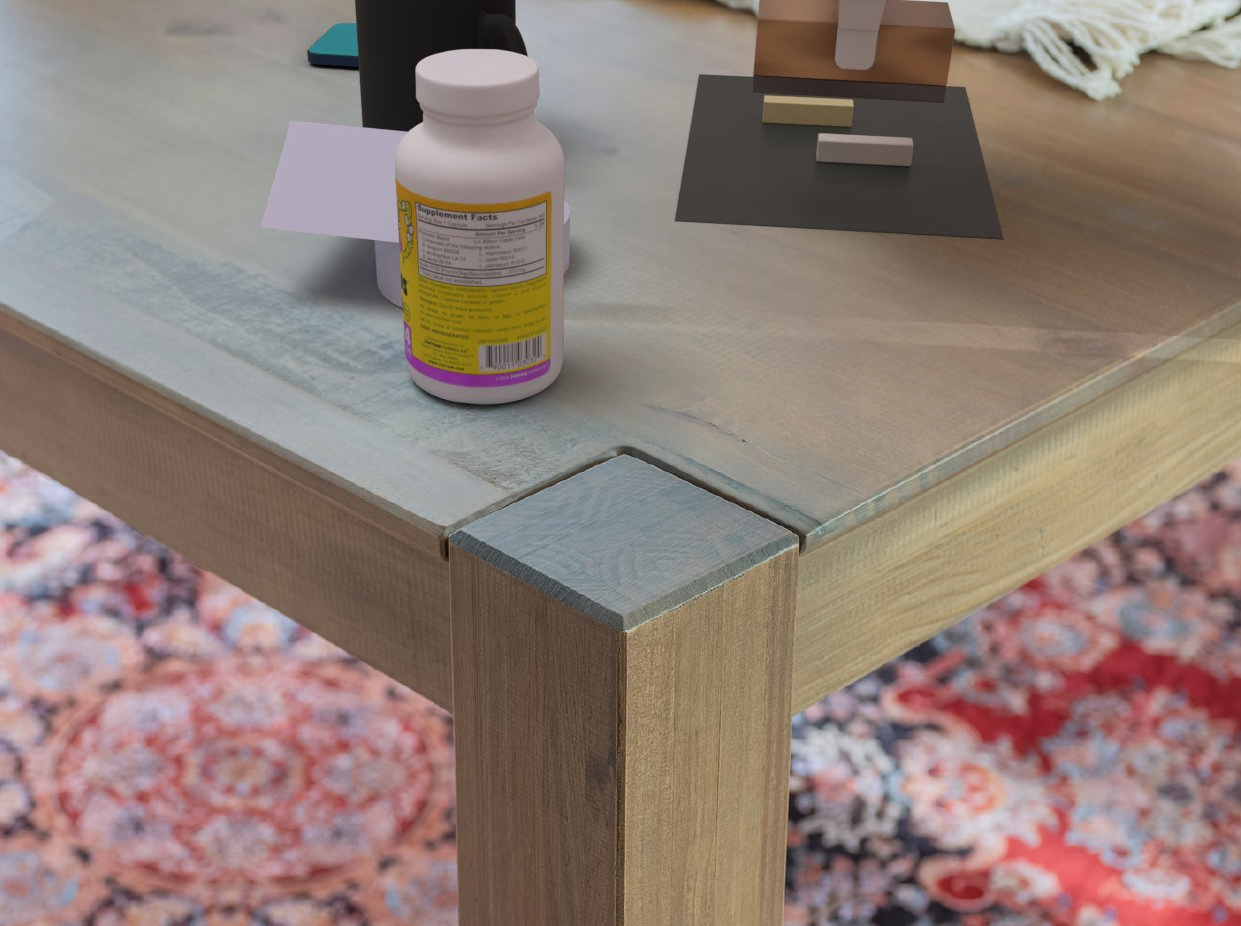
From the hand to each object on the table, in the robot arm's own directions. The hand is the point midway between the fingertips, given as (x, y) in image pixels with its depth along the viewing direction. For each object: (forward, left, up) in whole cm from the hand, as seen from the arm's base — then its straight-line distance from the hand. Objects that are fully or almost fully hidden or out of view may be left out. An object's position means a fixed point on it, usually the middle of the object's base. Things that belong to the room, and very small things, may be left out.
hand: (851, 46), depth 80 cm
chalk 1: (+1, -13, -8) cm, 15 cm away
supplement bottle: (+15, +19, -9) cm, 26 cm away
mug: (+20, -5, -9) cm, 22 cm away
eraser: (0, 0, -2) cm, 2 cm away
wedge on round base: (+19, +9, -9) cm, 23 cm away
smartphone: (+25, -25, -9) cm, 36 cm away
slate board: (0, -9, -9) cm, 13 cm away
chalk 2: (-2, -7, -8) cm, 11 cm away
